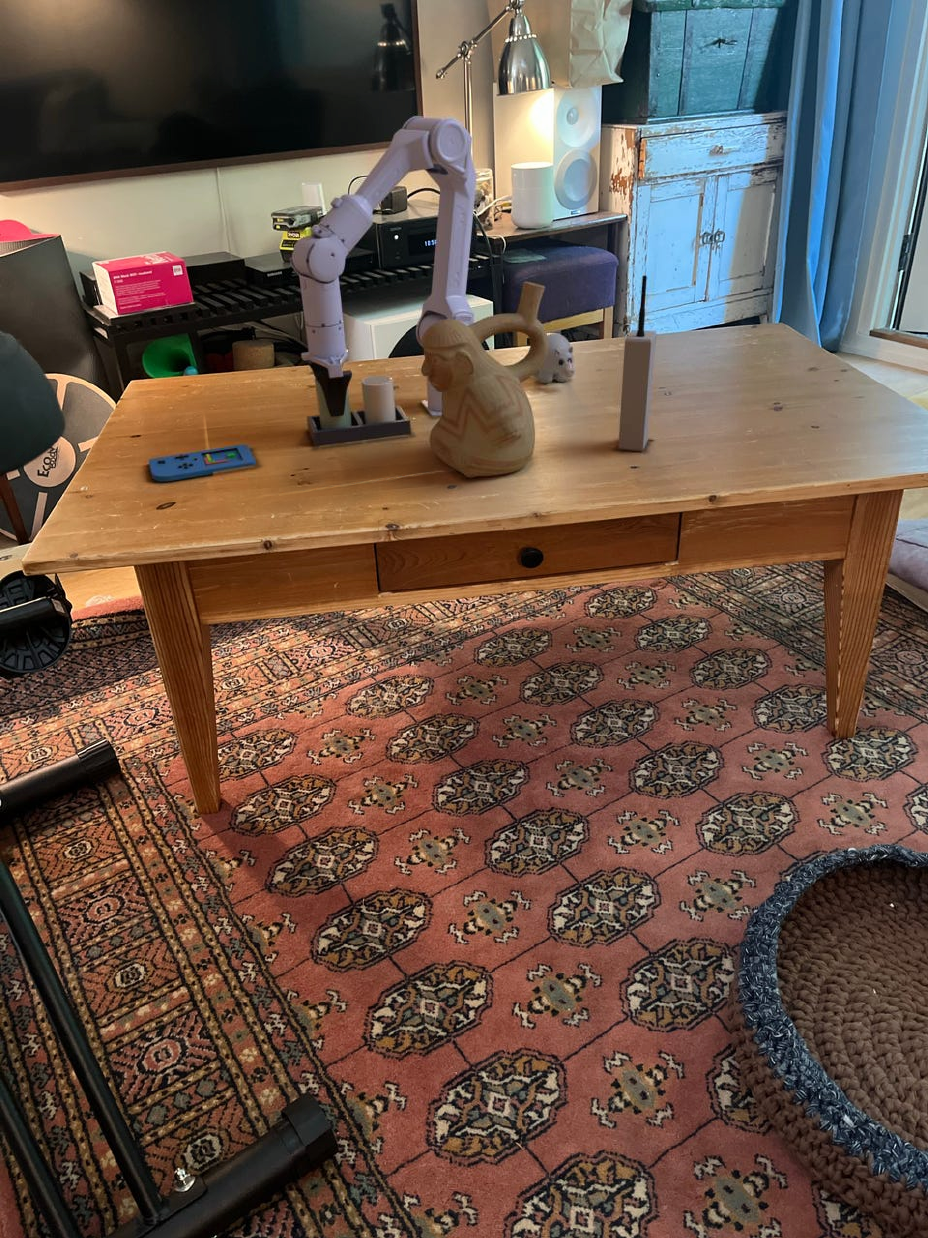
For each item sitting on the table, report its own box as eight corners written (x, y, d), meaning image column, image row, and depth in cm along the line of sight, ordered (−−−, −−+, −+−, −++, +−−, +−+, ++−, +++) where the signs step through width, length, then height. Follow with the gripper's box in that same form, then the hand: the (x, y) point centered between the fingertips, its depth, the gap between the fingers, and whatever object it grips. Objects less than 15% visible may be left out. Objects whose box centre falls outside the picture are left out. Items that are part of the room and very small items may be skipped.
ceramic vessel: (406, 456, 138) (394, 285, 125) (520, 433, 144) (521, 269, 131) (450, 496, 125) (442, 310, 111) (574, 470, 131) (580, 290, 118)
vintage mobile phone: (648, 440, 140) (661, 270, 127) (642, 452, 136) (656, 278, 123) (624, 438, 141) (635, 270, 128) (618, 449, 137) (628, 277, 124)
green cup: (349, 420, 147) (343, 371, 143) (354, 430, 143) (349, 380, 139) (318, 424, 146) (312, 375, 142) (323, 434, 142) (317, 384, 138)
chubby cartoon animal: (548, 395, 160) (549, 347, 156) (526, 376, 170) (526, 330, 165) (586, 391, 162) (588, 342, 157) (562, 372, 171) (563, 326, 167)
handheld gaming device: (147, 457, 137) (246, 441, 142) (149, 464, 138) (247, 448, 142) (152, 476, 131) (255, 459, 135) (154, 483, 131) (256, 466, 136)
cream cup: (392, 421, 150) (389, 373, 145) (399, 431, 146) (395, 382, 141) (363, 425, 149) (358, 377, 144) (369, 435, 144) (364, 386, 140)
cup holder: (400, 420, 152) (399, 404, 150) (411, 436, 145) (410, 420, 143) (308, 432, 148) (306, 416, 147) (315, 449, 142) (313, 432, 140)
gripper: (291, 314, 141) (303, 399, 148) (304, 336, 129) (315, 428, 137) (336, 309, 143) (345, 393, 150) (352, 331, 131) (361, 422, 138)
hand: (334, 409), depth 143 cm, fingers closed on green cup, 5 cm apart
